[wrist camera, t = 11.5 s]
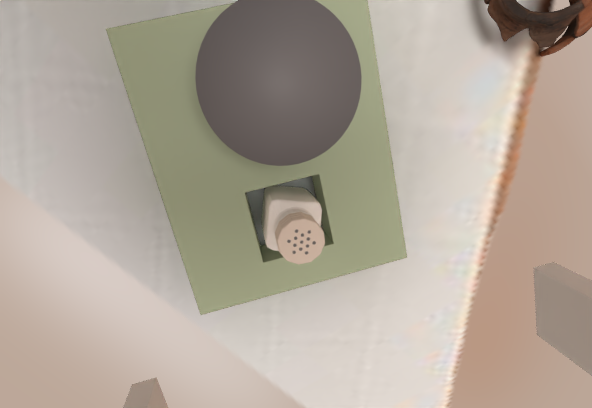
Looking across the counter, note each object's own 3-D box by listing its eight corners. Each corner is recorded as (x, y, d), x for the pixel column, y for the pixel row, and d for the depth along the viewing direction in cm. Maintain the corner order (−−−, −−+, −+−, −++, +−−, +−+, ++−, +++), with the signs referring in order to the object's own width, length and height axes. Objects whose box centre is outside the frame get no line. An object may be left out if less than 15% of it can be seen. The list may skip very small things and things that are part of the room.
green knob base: (123, 40, 28) (73, 8, 20) (347, -7, 30) (391, -55, 21) (205, 292, 34) (193, 352, 26) (388, 242, 36) (436, 282, 27)
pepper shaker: (260, 226, 34) (268, 269, 24) (264, 183, 33) (274, 210, 24) (303, 229, 34) (327, 271, 25) (308, 187, 33) (335, 214, 24)
